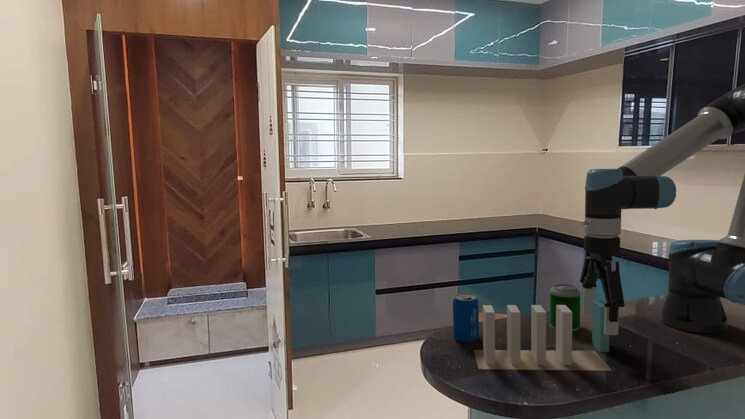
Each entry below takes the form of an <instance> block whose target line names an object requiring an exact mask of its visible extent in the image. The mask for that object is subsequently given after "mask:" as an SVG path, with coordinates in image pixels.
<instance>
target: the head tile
mask: <svg viewBox="0 0 745 419" xmlns="http://www.w3.org/2000/svg"><path fill="white" fill-rule="evenodd" d="M604 304H605V302H604V301H603V300H601V299H600V300H599V299H598V300H597V299H595V300H593V314H591V315H592V316H591V318H592V325H591V326H592V327H591V330H592V332H591V335H592V336H591V343H592V345H593V346H594V347H595V349H597V350H598V351H599V352H600V353H609V352H610V335H605V334H604V316H605V307H604Z"/></svg>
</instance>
